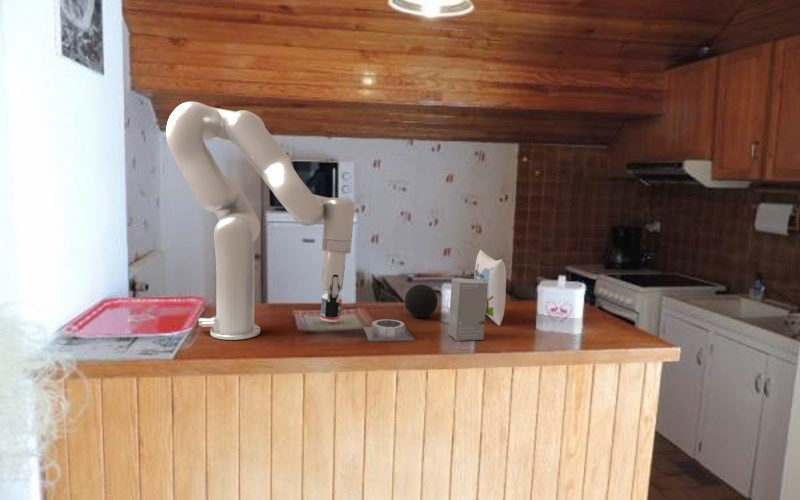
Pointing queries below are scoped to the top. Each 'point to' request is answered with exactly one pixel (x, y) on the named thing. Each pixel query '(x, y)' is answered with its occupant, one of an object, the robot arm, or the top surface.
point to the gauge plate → (388, 331)
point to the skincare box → (467, 309)
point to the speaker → (421, 301)
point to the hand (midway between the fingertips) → (330, 313)
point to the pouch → (492, 284)
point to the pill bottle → (323, 308)
